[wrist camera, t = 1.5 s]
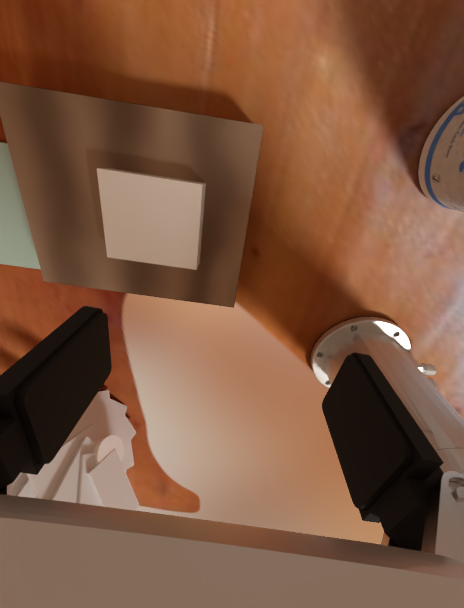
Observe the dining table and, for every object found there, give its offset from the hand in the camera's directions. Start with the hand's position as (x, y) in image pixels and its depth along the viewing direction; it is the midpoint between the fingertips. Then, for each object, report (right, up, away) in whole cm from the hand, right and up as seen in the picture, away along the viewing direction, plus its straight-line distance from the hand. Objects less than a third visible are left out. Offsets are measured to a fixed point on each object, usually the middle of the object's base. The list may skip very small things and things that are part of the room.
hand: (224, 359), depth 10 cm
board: (-8, +12, +16) cm, 21 cm away
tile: (-6, +10, +12) cm, 17 cm away
